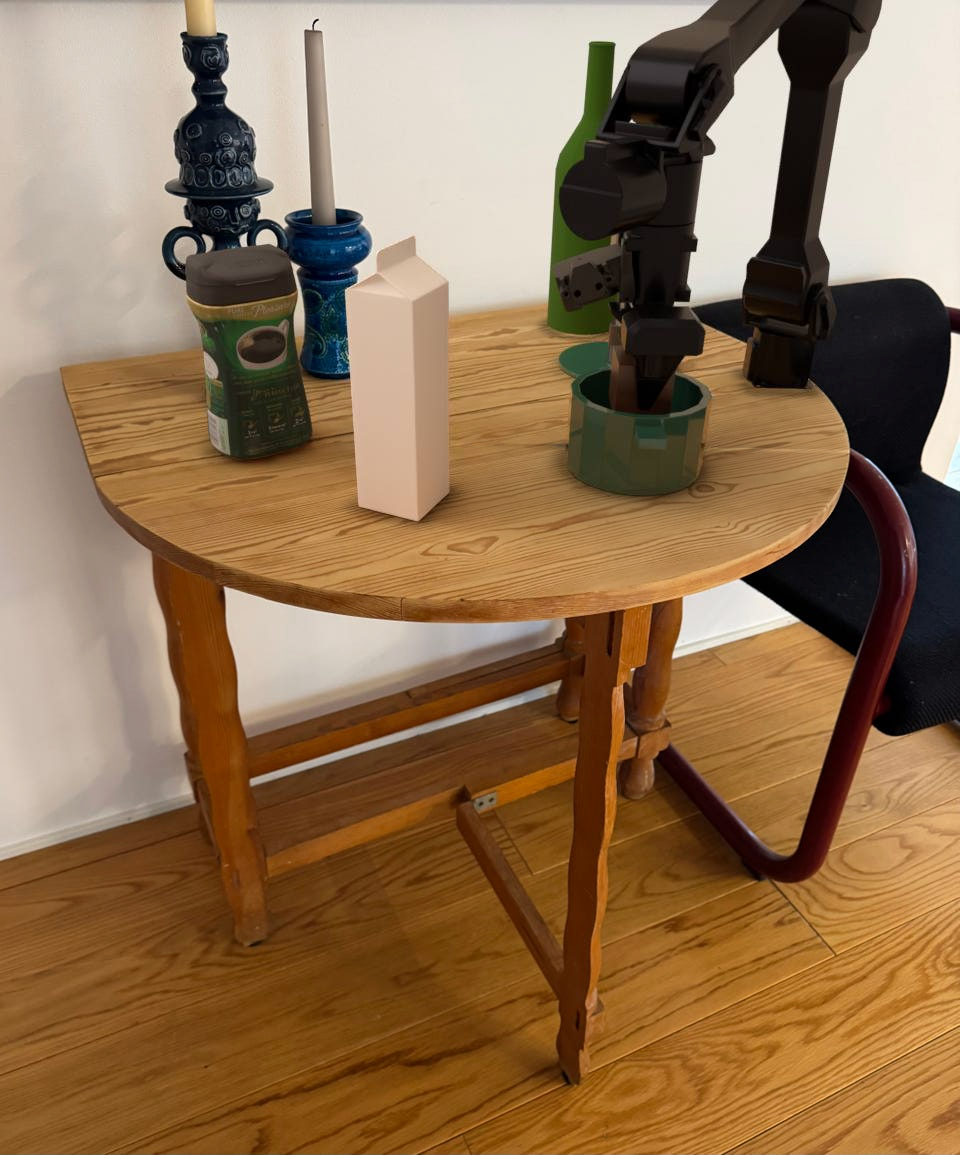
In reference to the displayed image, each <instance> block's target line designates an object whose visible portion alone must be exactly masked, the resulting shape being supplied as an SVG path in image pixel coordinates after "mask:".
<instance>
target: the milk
mask: <svg viewBox="0 0 960 1155" xmlns="http://www.w3.org/2000/svg"><path fill="white" fill-rule="evenodd" d="M416 244H417V241H416V236H415V235H410V236H407V237H406V238H403V239H400V240H398V241H397V242H393V243H392V244H390V245H387V246H385V247H383V248H381V249H379V250H377V251H376V254H375V266H376V268H375V269H376V272H374V273H373V274H370V275H369V276H367V277H365V278H364V279H362V280H360V281H358V282H356V283H355V284H352V285H351V286H349V287H348V288H345V289H344V299H345V314H346V315H345V316H346V328H347V346H348V359H349V375H350V376H349V377H350V390H351V391H350V392H351V406H352V407H351V410H352V423H353V439H354V454H355V471H356V487H357V502H358V507H359V508H362V509H366V510H370V511H374V512H379V513H382V514H387V515H391V516H394V517H398V518H402V519H406V520H410V521H414V522H419V521H421V520H422V519H423V518H424V517H425V516H426V515H427V514H428V513H429V512H430V511H431V510H433V509H434V508H435V506H437V505H438V504H439V503H440V502H441V501H442V500H443V499H444V498H445V497H446V496H447V495H449V494H450V297H449V296H450V295H449V294H450V292H449V291H450V286H449V284H450V283H449V280H448V279H447V278H446V277H445V276H443V275H442V274H441V273H439V272H438V271H437V270H436V269H435V268H433V266H431V265H430V264H428V262H426V261H425V260H424V259H423V258H421V257H420V256H419V255H417V245H416Z"/></svg>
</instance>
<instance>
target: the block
mask: <svg viewBox="0 0 960 1155" xmlns="http://www.w3.org/2000/svg"><path fill="white" fill-rule="evenodd" d="M675 372H677V369H676V370H675V371H674V373H673V374H672V376H671V377H670V379H669V380H668V382H667V384H666V385H665V387H664V388H663V390H662V391H661V393H660V395H659V396H658V398H657V399H656V401H655V402H654V404H653V406H652V407H651V409H649V410H640V409H638V406H637V395H636V381H635V368H634V357H633V356H632V355H631V354H628V353H625V352H624V349H623V347H622V346H613V352H612V363H611V374H610V385H609V396H608V397H609V401H610V405H611V409H612V410H614V411H620V412H626V413H631V414H643V415H664V414H670V410H671V403H672V395H673V388H674V380H675Z"/></svg>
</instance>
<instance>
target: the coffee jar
mask: <svg viewBox="0 0 960 1155" xmlns="http://www.w3.org/2000/svg"><path fill="white" fill-rule="evenodd" d="M184 266H185V267H184V269H185V270H184V275H185V291H186V293H185V297H186V301H187V305H188V306H189V309H190V311H191V312H192V315H193V316H194V318H195V319H196V321H197V323H198V327H199V333H200V337H201V344H202V345H201V346H202V350H203V363H204V379H205V381H204V382H205V396H206V397H205V398H206V399H205V401H206V418H207V419H206V421H207V429H208V436H209V441H210V444H212V446H213V447H214V449H215V451H217V452H218V453H219V454H221V456H224V457H227V458H231V459H235V460H238V461H249V460H254V459H260V458H265V457H269V456H270V457H271V456H273V455H278V454H280V453H286V452H288V451H292V450H295V449H298V448H300V447H303V446H305V445H306V444H308V443H309V441H310V440H311V439H312V436H313V433H314V431H313V423H312V418H311V411H310V408H309V407H310V406H309V403H308V398H307V394H306V389H305V384H304V380H303V375H302V371H301V370H302V369H301V366H300V361H299V360H300V359H299V356H298V349H297V342H296V336H295V335H296V334H295V312H296V307H297V304H298V299H299V288H298V285H297V282H296V276H295V274H294V268H293V264H292V261H291V258H290V256H289V254H288V253H287V252H286V251H284V250H283V249H281V248H279V247H278V246H276V245H274V244H271V243H264V244H257V245H248V246H242V247H241V246H240V247H233V248H225V249H220V250H214V251H208V252H201V253H194V254H193V253H192V254H189V255H188V256H186V259H185V265H184Z"/></svg>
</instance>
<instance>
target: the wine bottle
mask: <svg viewBox="0 0 960 1155" xmlns="http://www.w3.org/2000/svg"><path fill="white" fill-rule="evenodd" d="M616 44H617V43H616V42H614V41H605V40H604V41H603V40H602V41H600V40H596V41H595V40H593V41H589V42H588V54H587V55H588V56H587V65H586V66H587V68H586V78H585V91H584V92H585V93H584V103H583V104H584V105H583V113H582V116H581V119H580V121H579V122H578V124H577V126H576V127H575V129H574V131H573V132H572V133H571V135H570V136H569V138H568V140H567V141H566V143H565V145H564V146H563V148H562V149H561V151H560V153H559V155H558V158H557V162H556V166H555V172H554V173H555V175H554V191H553V208H552V228H551V245H550V246H551V247H550V262H549V281H548V282H549V283H548V297H547V298H548V299H547V300H548V302H547V319H546V324H547V326H548V327H549V328H550V329H552V330H554V331H556V332H559V333H563V334H569V335H575V336H576V335H577V336H594V335H602V334H603V335H604V334H606V333H609V326H610V322H611V321H613V320H617V319H616V318H615V317H614V316H613V315H612V313H611V311H610V308H609V305H608V302H610V301H618V300H617V299H618V292H617V293H616V294H615V295H613V296H611V297H609V298H606V299H603V300H600V301H597V302H594V303H591V304H588V305H585V306H583V307H582V309H580V310H577V311H574V312H566V311H565V310H564V307H563V304H562V301H561V297H560V294H559V291H558V287H557V284H556V281H555V278H554V272H553V266H554V265H555V264H556V263H558V262H560V261H563V260H566V259H568V258H571V257H574V256H577V255H580V254H583V253H586V252H589V251H592V250H594V249H598V248H603V247H606V246H610V245H613V244H616V236H617V234H616V235H613V236H609V237H606V238H603V239H599V240H593V241H588V240H584V239H582V238H580V237H578V236H576V235H575V234H574V233H573V232H572V231H570V229H569V228H568V226H567V225H566V224H565V222H564V219H563V217H562V215H561V211H560V206H559V189H560V187H561V186H562V183H563V180H564V177H565V176H566V174H567V172H568V170H569V169H570V168H571V167H572V166H573V165H574V164H575V163H577V162H579V161H580V160H583V159H584V145H585V143H586V141H590V140H596V138H595V136H596V133H597V131H598V128H599V126H600V124H601V122H602V119H603V117H604V115H605V113H606V110H607V108H608V106H609V104H610V101H611V99H612V97H613V83H614V68H615V54H616V53H615V52H616V46H617V45H616Z"/></svg>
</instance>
